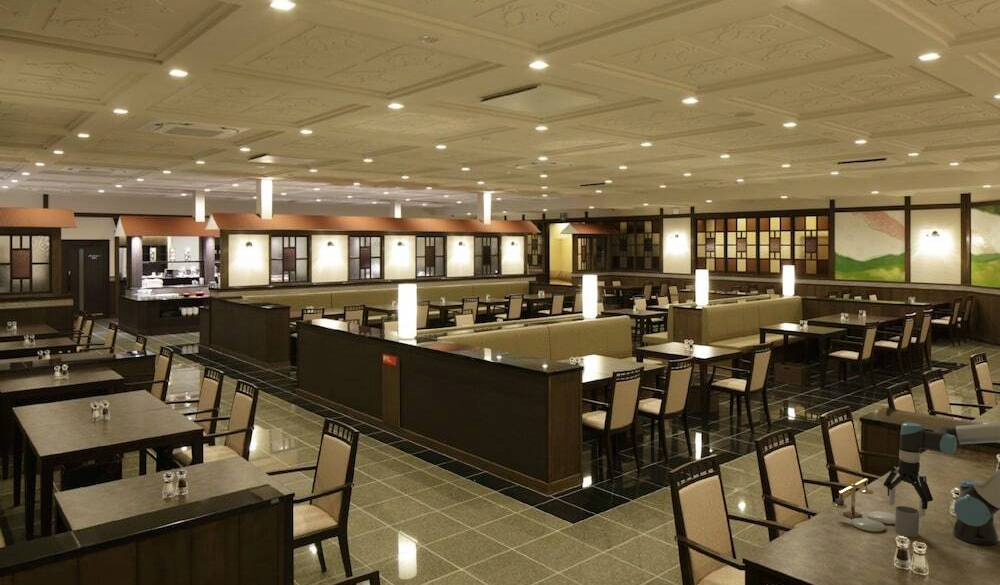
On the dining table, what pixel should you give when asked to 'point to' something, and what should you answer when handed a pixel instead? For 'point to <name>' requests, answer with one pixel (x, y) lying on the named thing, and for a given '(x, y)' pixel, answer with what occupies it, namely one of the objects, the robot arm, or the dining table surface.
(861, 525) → the dish green
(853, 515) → the balance
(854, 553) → the dining table surface
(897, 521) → the cup
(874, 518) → the white dome
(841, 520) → the dining table surface
